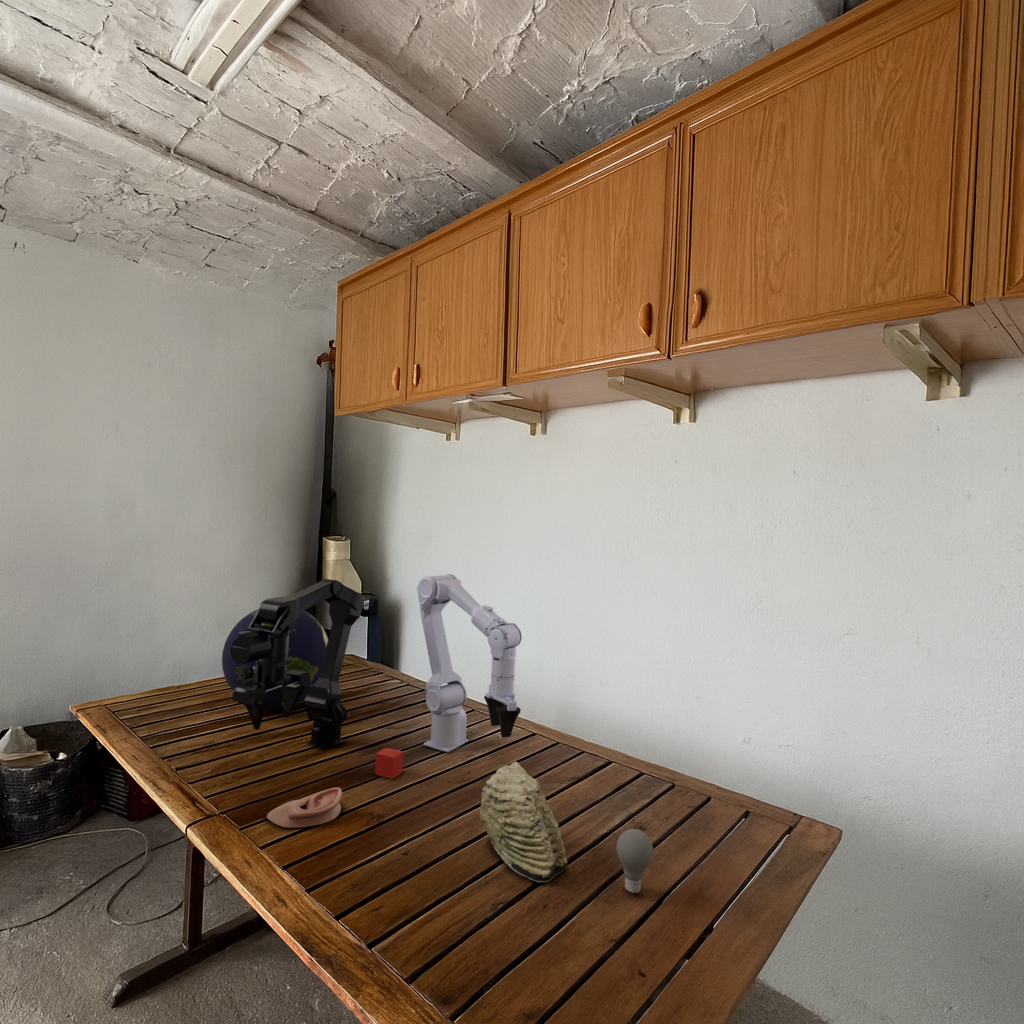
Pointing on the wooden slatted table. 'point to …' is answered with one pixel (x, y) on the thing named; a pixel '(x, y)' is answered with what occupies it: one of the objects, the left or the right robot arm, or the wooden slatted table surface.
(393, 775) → the block
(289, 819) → the anatomical model
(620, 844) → the light bulb
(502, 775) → the fossil
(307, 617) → the globe
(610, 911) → the wooden slatted table surface
